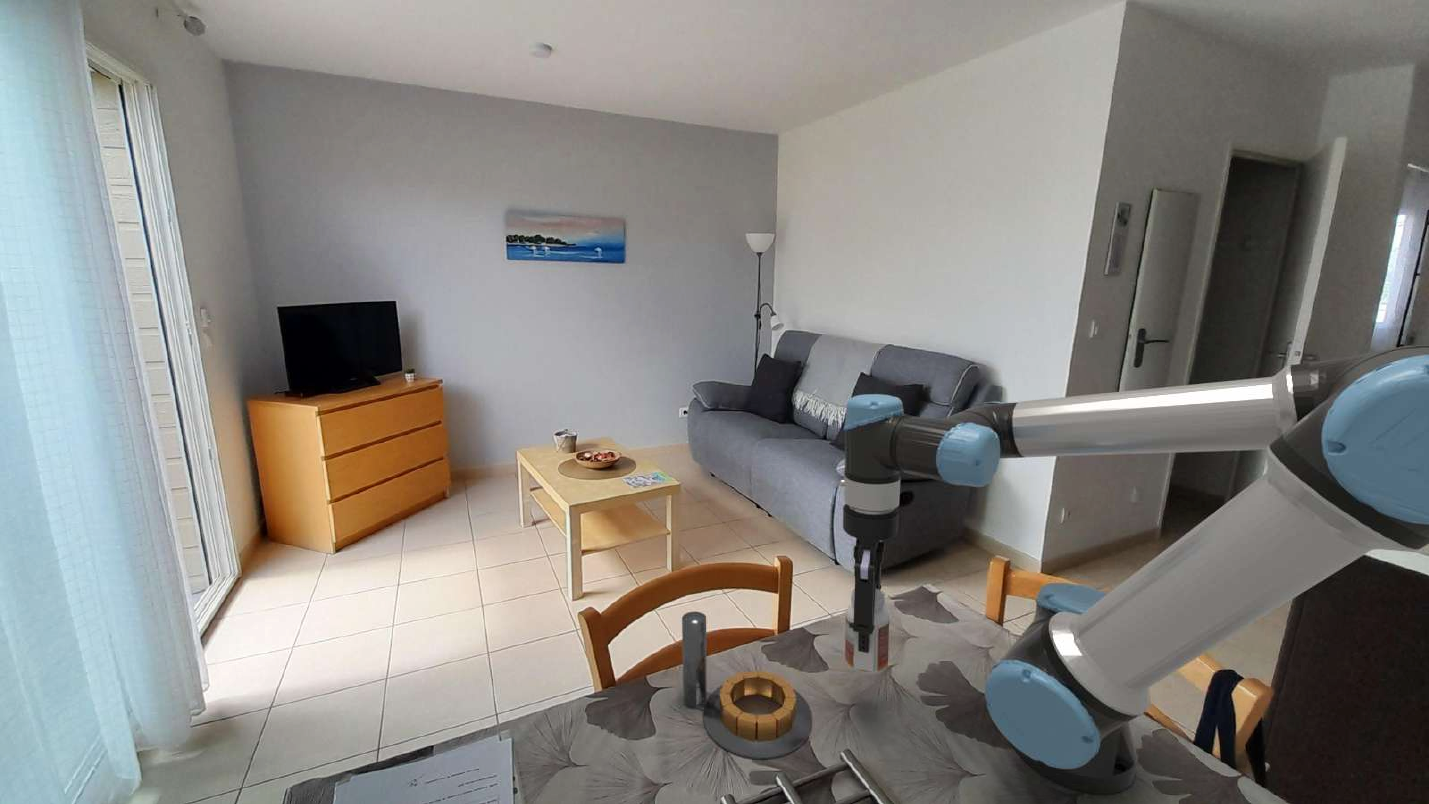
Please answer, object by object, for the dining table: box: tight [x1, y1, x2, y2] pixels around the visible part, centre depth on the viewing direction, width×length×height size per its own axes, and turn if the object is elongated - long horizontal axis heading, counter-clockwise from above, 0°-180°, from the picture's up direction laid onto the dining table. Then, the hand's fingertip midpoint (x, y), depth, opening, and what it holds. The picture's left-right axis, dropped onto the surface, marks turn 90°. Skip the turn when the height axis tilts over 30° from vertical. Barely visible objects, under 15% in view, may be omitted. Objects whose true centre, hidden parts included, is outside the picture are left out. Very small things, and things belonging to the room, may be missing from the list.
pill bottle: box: [844, 588, 890, 676], centre depth 86 cm, size 6×6×11 cm
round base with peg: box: [681, 611, 813, 760], centre depth 87 cm, size 20×16×14 cm
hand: (866, 654), depth 87 cm, fingers closed on pill bottle, 6 cm apart
